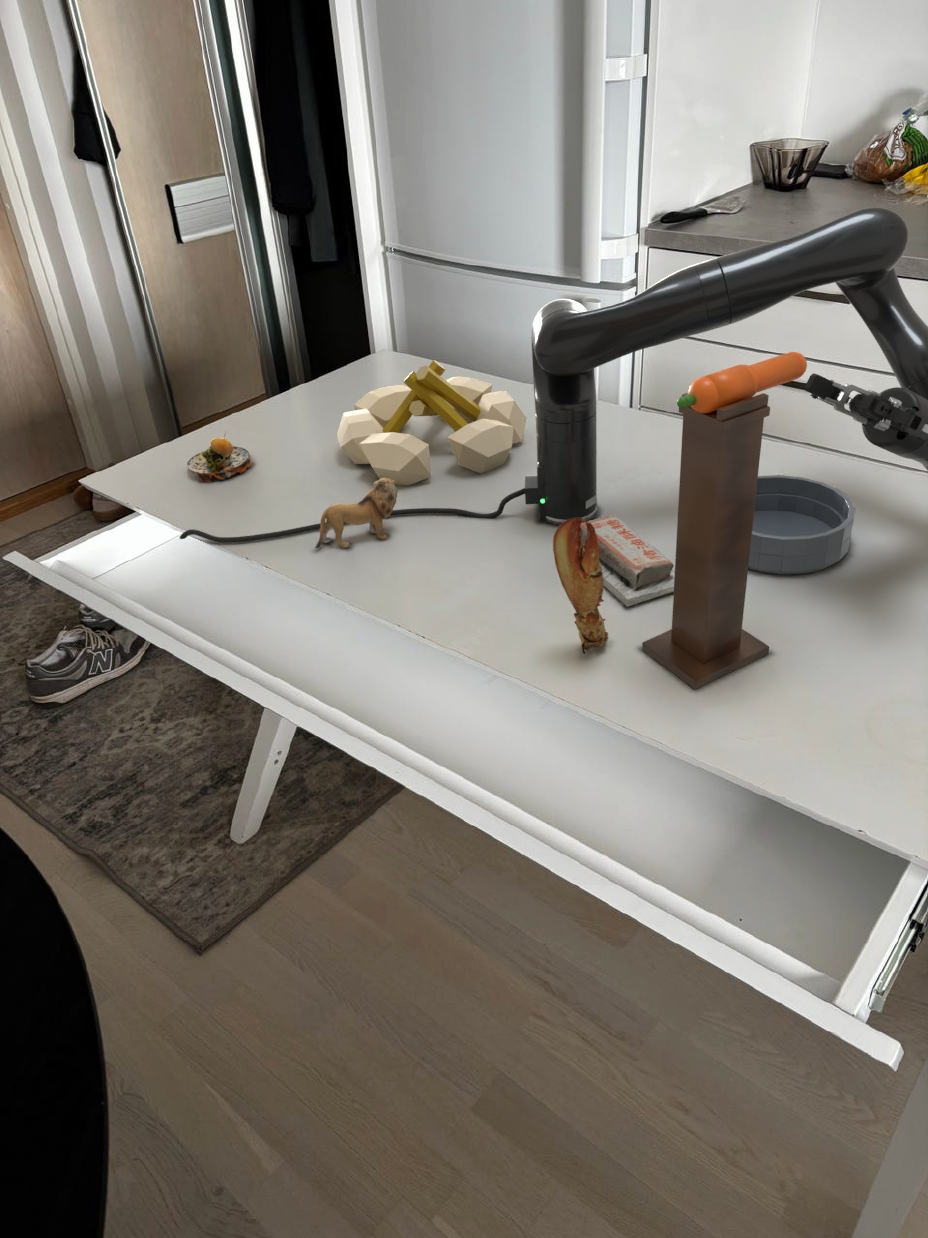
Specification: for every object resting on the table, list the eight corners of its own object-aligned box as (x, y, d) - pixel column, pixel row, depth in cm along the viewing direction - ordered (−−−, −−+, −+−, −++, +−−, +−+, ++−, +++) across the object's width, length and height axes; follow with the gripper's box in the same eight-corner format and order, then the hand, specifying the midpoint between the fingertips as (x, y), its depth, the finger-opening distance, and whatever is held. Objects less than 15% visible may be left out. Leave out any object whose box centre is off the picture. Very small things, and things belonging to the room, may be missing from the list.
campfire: (355, 501, 162) (339, 407, 153) (331, 428, 190) (317, 344, 180) (549, 466, 168) (546, 372, 158) (499, 399, 195) (493, 316, 186)
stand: (695, 689, 114) (714, 423, 95) (641, 649, 121) (650, 395, 102) (768, 654, 119) (801, 393, 99) (713, 617, 126) (733, 368, 107)
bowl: (719, 578, 134) (723, 541, 130) (702, 511, 150) (704, 477, 146) (864, 574, 131) (871, 537, 128) (830, 507, 148) (836, 472, 144)
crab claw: (552, 648, 123) (547, 512, 112) (576, 630, 126) (573, 495, 115) (596, 667, 119) (595, 528, 108) (619, 648, 122) (621, 510, 111)
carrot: (689, 426, 98) (691, 391, 95) (665, 415, 100) (666, 381, 98) (813, 383, 104) (817, 349, 102) (787, 374, 107) (791, 341, 105)
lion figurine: (395, 519, 156) (388, 469, 151) (407, 532, 152) (401, 482, 147) (310, 544, 151) (300, 494, 146) (321, 559, 147) (311, 507, 142)
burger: (217, 450, 185) (208, 414, 181) (264, 459, 180) (256, 422, 176) (175, 477, 177) (164, 439, 172) (224, 486, 172) (214, 448, 167)
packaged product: (564, 523, 140) (622, 506, 143) (564, 551, 143) (622, 534, 146) (627, 579, 126) (690, 560, 129) (626, 609, 129) (688, 589, 132)
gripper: (875, 381, 124) (806, 345, 114) (973, 414, 114) (906, 377, 104) (848, 435, 126) (777, 404, 116) (941, 472, 116) (872, 441, 106)
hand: (838, 391), depth 110 cm, fingers open, 8 cm apart
